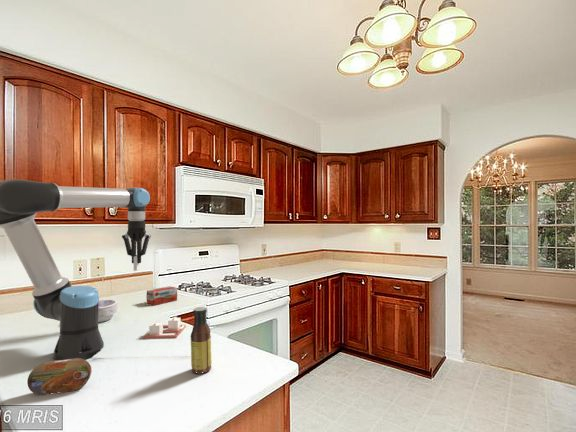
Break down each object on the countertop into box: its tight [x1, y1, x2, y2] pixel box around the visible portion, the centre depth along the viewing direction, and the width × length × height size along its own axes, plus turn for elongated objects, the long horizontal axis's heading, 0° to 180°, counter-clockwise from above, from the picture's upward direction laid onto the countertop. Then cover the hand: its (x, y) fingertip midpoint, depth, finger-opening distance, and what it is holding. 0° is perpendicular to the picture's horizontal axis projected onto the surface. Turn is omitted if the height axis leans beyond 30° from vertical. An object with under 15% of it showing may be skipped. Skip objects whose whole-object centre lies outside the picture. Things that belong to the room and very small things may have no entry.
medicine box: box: [145, 285, 178, 306], centre depth 185 cm, size 15×8×8 cm, turn 142°
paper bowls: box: [98, 299, 119, 323], centre depth 152 cm, size 15×15×8 cm
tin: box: [26, 358, 93, 396], centre depth 89 cm, size 15×3×8 cm, turn 105°
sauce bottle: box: [190, 306, 212, 373], centre depth 101 cm, size 6×6×20 cm
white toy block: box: [167, 316, 182, 330], centre depth 134 cm, size 4×4×5 cm
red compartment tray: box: [142, 324, 187, 340], centre depth 131 cm, size 13×13×2 cm
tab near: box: [148, 320, 164, 335], centre depth 128 cm, size 4×4×5 cm
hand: (136, 270), depth 149 cm, fingers closed
